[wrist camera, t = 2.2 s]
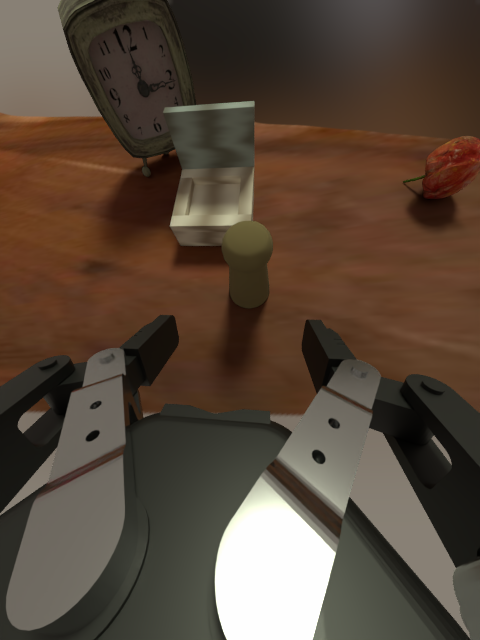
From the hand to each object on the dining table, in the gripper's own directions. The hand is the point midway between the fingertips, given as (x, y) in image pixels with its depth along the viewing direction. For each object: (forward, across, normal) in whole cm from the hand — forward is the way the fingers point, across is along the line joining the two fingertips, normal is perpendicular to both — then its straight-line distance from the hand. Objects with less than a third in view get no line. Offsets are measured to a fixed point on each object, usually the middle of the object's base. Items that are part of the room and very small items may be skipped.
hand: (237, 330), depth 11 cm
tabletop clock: (+38, +18, -18) cm, 46 cm away
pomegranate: (+30, -29, -10) cm, 43 cm away
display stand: (+27, +6, -7) cm, 28 cm away
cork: (+17, 0, +3) cm, 17 cm away
